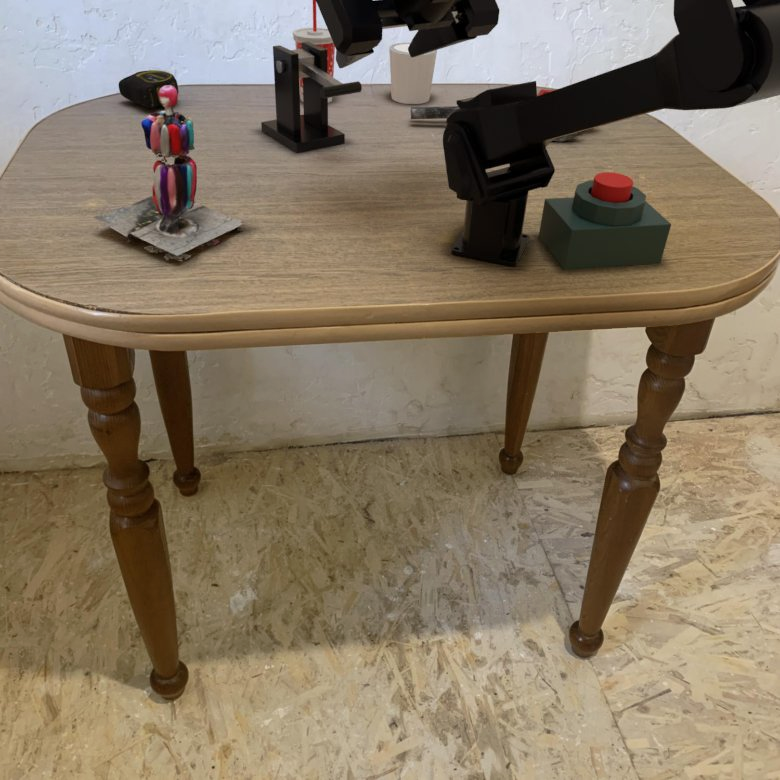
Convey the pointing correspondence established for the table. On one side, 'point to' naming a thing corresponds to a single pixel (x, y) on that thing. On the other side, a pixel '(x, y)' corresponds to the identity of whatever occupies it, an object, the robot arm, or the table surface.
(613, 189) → the button
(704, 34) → the robot arm
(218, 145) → the table surface
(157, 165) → the statue
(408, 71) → the white tapered cup
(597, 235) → the button box
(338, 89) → the lever
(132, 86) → the tape measure
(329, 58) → the beverage cup
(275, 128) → the bracket
